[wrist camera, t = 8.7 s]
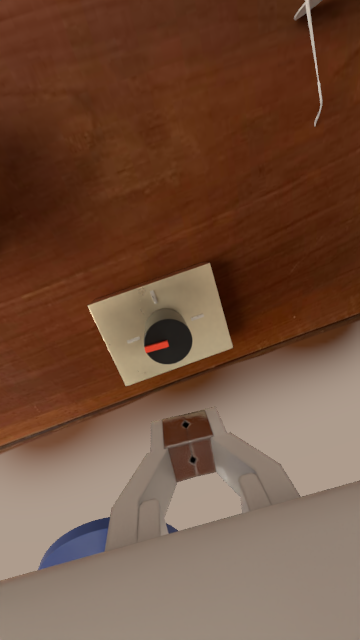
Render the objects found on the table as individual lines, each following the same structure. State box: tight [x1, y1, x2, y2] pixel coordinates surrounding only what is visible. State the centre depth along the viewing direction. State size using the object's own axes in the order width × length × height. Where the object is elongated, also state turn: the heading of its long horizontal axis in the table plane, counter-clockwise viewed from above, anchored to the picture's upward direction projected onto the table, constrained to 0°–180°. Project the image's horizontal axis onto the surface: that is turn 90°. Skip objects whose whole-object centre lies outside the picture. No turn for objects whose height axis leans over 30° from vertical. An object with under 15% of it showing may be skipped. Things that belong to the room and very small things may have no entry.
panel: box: [88, 262, 233, 386], centre depth 25 cm, size 10×13×3 cm
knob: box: [144, 309, 193, 364], centre depth 21 cm, size 4×4×4 cm
